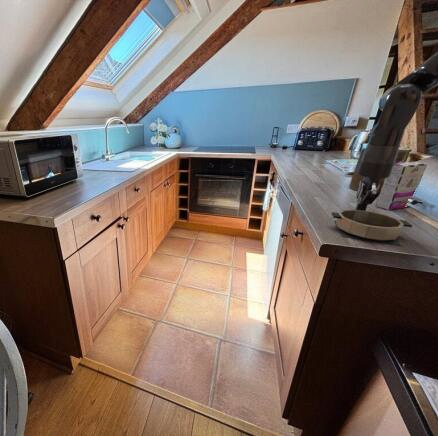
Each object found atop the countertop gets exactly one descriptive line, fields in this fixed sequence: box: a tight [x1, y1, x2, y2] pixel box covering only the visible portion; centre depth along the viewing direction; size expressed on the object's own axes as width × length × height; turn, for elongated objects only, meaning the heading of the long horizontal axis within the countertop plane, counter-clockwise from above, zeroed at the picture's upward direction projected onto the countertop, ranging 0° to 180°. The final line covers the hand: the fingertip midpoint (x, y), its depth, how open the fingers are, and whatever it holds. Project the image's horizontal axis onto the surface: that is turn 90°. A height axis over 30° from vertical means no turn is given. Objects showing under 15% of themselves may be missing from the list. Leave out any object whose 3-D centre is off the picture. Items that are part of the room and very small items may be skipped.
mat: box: [334, 220, 402, 247], centre depth 73 cm, size 13×13×1 cm
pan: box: [331, 209, 413, 241], centre depth 72 cm, size 18×14×5 cm
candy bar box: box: [375, 161, 428, 211], centre depth 89 cm, size 11×5×16 cm, turn 105°
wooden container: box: [349, 147, 407, 192], centre depth 110 cm, size 15×15×22 cm
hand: (358, 214), depth 79 cm, fingers closed
